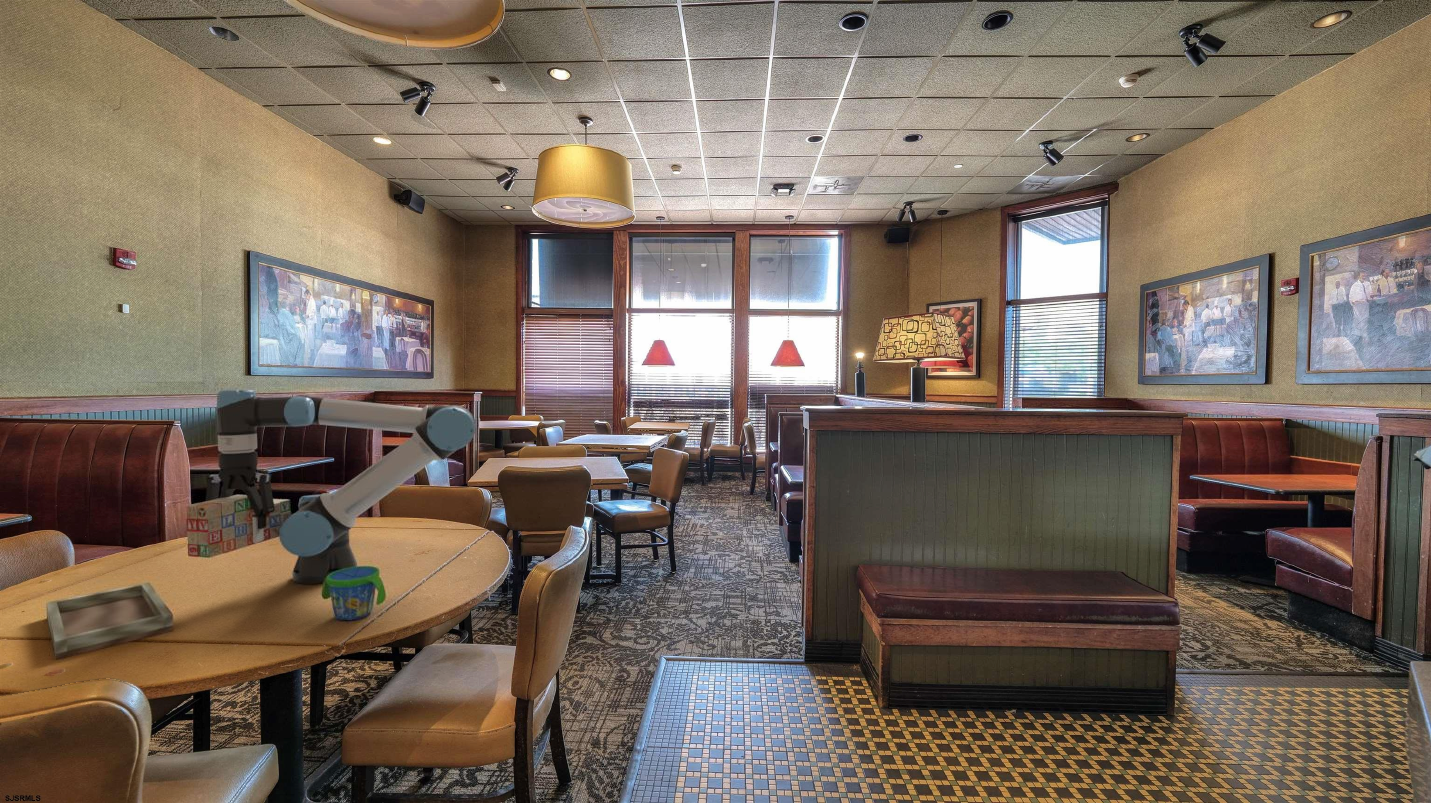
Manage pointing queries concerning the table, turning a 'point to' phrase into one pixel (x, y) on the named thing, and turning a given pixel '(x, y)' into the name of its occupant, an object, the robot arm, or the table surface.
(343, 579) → the snack cup
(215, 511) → the stack of blocks
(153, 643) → the table surface
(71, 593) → the table surface
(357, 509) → the robot arm
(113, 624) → the grey rectangular tray
